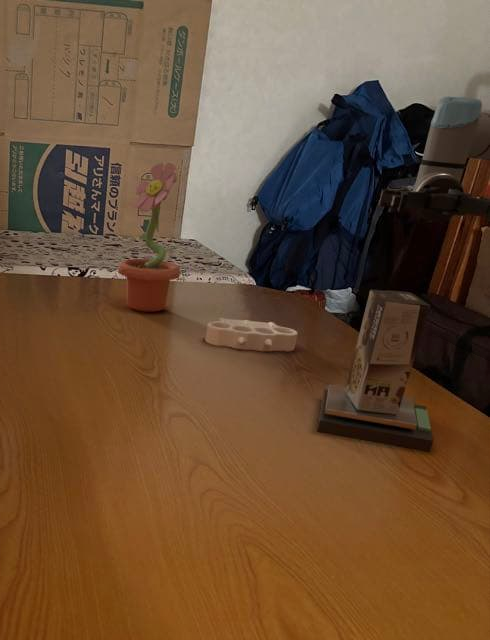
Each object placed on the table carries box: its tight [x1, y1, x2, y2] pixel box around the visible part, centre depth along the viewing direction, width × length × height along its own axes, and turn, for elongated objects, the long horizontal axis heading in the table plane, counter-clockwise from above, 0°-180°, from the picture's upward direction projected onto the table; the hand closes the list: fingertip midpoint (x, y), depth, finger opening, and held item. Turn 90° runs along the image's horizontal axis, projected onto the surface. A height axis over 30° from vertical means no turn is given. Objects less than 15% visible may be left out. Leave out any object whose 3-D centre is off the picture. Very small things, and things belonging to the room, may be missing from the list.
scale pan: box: [325, 383, 417, 430], centre depth 119 cm, size 13×13×1 cm
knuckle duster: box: [204, 317, 299, 353], centre depth 156 cm, size 3×18×15 cm
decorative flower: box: [117, 162, 181, 313], centre depth 169 cm, size 15×14×30 cm
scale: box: [316, 389, 434, 453], centre depth 120 cm, size 16×16×2 cm
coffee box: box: [345, 289, 431, 415], centre depth 115 cm, size 9×6×16 cm
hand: (449, 209), depth 118 cm, fingers open, 13 cm apart
